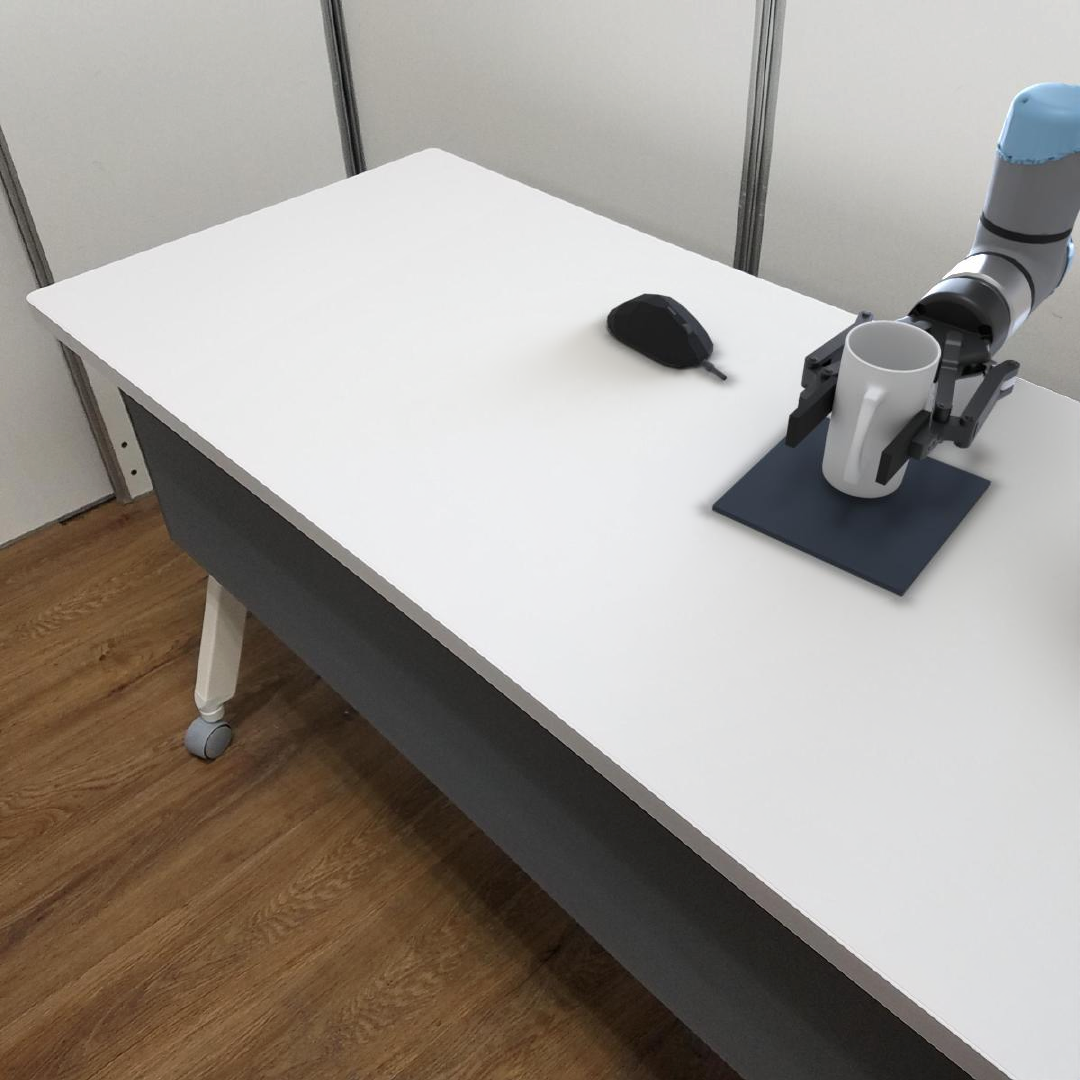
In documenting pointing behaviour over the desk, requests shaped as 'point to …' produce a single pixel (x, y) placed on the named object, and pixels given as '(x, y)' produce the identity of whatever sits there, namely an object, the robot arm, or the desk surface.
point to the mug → (876, 401)
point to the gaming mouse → (662, 331)
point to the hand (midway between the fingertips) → (836, 449)
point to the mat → (853, 511)
